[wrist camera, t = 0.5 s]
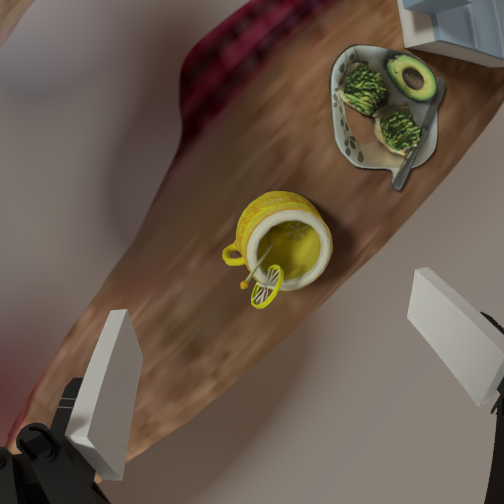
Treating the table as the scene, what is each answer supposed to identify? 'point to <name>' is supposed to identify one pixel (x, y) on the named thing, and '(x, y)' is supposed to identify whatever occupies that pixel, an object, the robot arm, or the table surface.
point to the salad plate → (386, 108)
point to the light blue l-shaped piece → (465, 23)
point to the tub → (422, 39)
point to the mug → (280, 244)
